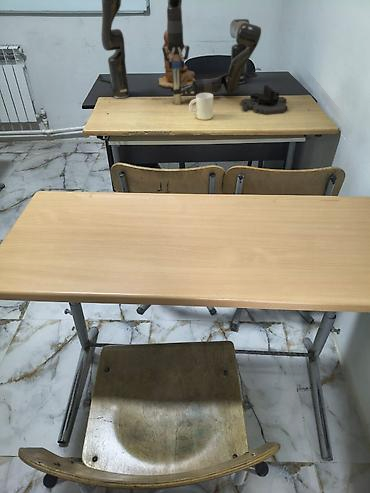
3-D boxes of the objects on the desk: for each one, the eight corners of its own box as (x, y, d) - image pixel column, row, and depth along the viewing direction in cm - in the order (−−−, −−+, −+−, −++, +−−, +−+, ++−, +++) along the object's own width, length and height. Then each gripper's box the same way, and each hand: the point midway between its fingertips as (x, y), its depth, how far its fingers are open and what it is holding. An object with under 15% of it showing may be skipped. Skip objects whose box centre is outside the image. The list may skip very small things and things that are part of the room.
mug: (190, 121, 174) (189, 99, 167) (187, 115, 180) (187, 93, 173) (214, 119, 175) (214, 97, 168) (211, 113, 181) (211, 92, 174)
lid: (182, 65, 185) (182, 60, 184) (180, 68, 181) (180, 63, 180) (172, 65, 186) (172, 60, 184) (170, 68, 182) (170, 63, 180)
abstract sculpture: (249, 96, 171) (238, 84, 186) (248, 115, 177) (236, 102, 192) (299, 92, 174) (283, 80, 189) (296, 111, 180) (281, 98, 195)
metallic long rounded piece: (174, 104, 193) (173, 65, 181) (173, 102, 196) (171, 63, 184) (182, 103, 194) (181, 64, 181) (180, 101, 197) (179, 62, 185)
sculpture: (197, 88, 213) (196, 30, 194) (156, 89, 214) (152, 31, 194) (196, 75, 234) (196, 22, 215) (159, 76, 235) (156, 23, 215)
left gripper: (161, 33, 169) (163, 72, 180) (191, 31, 171) (191, 69, 182) (159, 30, 175) (161, 68, 186) (188, 28, 177) (188, 66, 188)
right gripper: (197, 76, 197) (168, 80, 193) (207, 83, 186) (176, 87, 183) (197, 90, 202) (168, 94, 198) (207, 98, 191) (176, 102, 187)
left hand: (176, 68), depth 184 cm, fingers closed on lid, 5 cm apart
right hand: (172, 91), depth 190 cm, fingers closed on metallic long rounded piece, 4 cm apart
